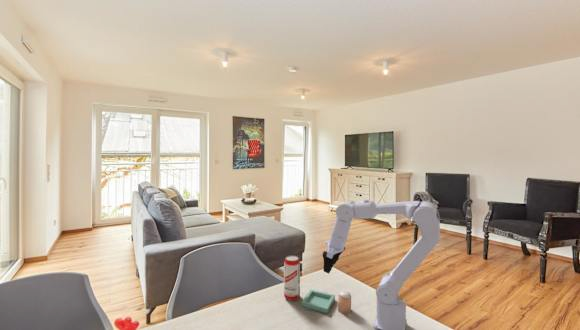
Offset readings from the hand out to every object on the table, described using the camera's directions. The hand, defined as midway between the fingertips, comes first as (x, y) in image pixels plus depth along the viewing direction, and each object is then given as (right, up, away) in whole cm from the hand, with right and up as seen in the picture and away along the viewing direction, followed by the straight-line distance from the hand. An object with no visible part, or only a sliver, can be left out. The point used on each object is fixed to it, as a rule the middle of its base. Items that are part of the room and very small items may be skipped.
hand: (329, 267), depth 102 cm
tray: (-4, -15, +3) cm, 16 cm away
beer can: (-14, -15, +7) cm, 22 cm away
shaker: (+5, -15, -1) cm, 16 cm away
